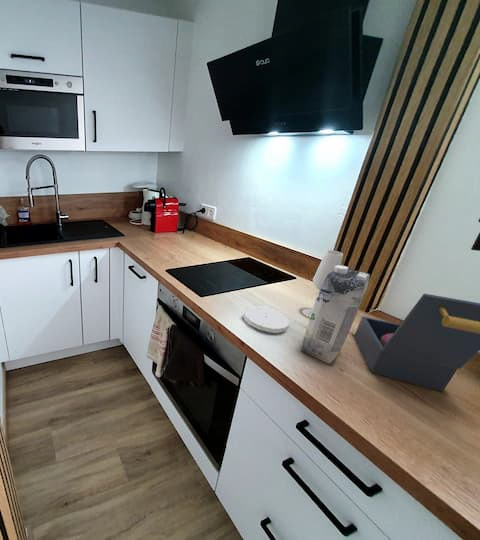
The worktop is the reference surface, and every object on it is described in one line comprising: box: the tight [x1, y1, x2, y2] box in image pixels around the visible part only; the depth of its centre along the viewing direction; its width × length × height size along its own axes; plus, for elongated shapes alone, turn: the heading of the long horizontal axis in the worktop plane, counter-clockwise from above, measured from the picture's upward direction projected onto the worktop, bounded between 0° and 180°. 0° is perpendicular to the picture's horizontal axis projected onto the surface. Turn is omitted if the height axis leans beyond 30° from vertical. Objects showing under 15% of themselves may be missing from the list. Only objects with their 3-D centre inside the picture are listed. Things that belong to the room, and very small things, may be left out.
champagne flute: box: [301, 249, 344, 319], centre depth 99 cm, size 7×7×24 cm
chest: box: [354, 316, 458, 392], centre depth 81 cm, size 19×15×7 cm
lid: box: [382, 293, 480, 370], centre depth 64 cm, size 20×15×6 cm
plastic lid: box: [243, 305, 290, 334], centre depth 97 cm, size 14×14×2 cm
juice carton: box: [301, 264, 371, 364], centre depth 79 cm, size 9×10×27 cm
